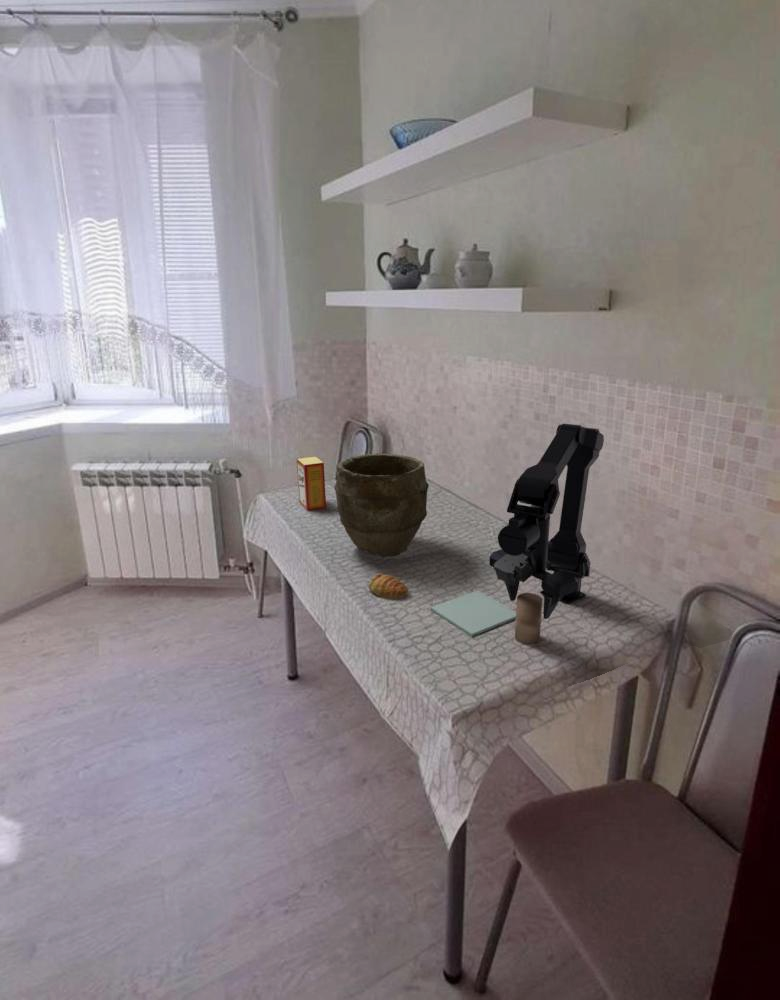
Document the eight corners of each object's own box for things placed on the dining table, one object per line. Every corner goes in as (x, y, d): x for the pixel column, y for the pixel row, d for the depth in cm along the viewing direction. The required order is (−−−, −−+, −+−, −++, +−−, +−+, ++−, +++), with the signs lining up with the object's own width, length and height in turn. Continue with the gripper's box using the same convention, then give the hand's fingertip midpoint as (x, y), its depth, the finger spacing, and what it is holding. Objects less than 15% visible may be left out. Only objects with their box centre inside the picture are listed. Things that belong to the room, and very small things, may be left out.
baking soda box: (299, 502, 212) (296, 457, 207) (317, 499, 214) (315, 455, 209) (307, 510, 203) (304, 464, 198) (326, 508, 206) (323, 461, 201)
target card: (477, 592, 146) (477, 590, 146) (520, 616, 135) (520, 614, 135) (430, 609, 139) (430, 607, 138) (471, 636, 128) (471, 633, 127)
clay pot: (406, 526, 188) (405, 446, 180) (444, 556, 166) (445, 467, 158) (326, 539, 179) (322, 456, 171) (355, 573, 157) (351, 480, 149)
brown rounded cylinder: (526, 629, 130) (529, 590, 127) (544, 639, 126) (547, 599, 123) (509, 636, 127) (511, 597, 125) (527, 647, 123) (530, 607, 121)
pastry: (413, 592, 147) (413, 578, 146) (397, 604, 142) (397, 589, 141) (382, 582, 152) (382, 568, 151) (365, 593, 147) (365, 579, 146)
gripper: (470, 532, 123) (468, 602, 128) (540, 564, 108) (535, 641, 113) (510, 520, 129) (507, 588, 134) (582, 549, 114) (576, 623, 119)
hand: (529, 609), depth 125 cm, fingers open, 9 cm apart
